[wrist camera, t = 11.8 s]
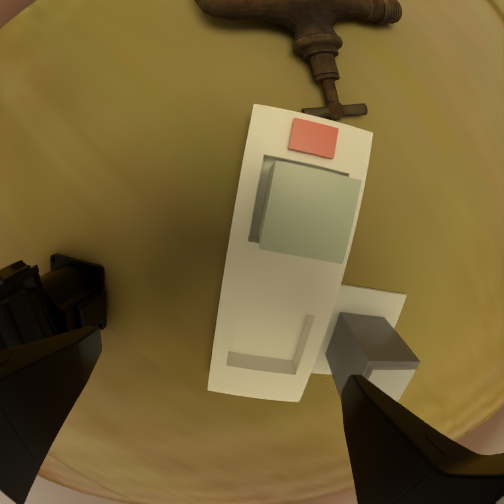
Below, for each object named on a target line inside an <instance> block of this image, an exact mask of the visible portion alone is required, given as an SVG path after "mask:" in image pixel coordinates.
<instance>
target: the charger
mask: <svg viewBox="0 0 504 504" xmlns="http://www.w3.org/2000/svg"><path fill="white" fill-rule="evenodd" d="M325 356H326V358H327V361H328V364H329V367H330V370H331V373H332V375H333V378H334V381H335V384H336V387H337V390H338V393H339V396H340V399H341V392H342V389H343V387H344V385H345V383H346V381H347V379H348V377H349V376H350V375H351V374H360V375H362V376H364V377H365V378H366V379H367V380H369V381H370V382H371V383H373V384H374V385H375V386H377V387H378V388H379V389H381V390H382V391H383V392H385V393H386V394H387V395H389V396H390V397H391V398H393V399H394V400H395V401H398V400H399V398H400V397H401V395H402V393H403V392H404V390H405V388H406V387H407V385H408V383H409V381H410V380H411V378H412V376H413V374H414V372H415V371H416V369H417V367H418V365H419V363H420V361H419V359H418V358H417V357H416V356H415V354H414V353H413V352H412V350H411V349H410V348H409V347H408V345H407V344H406V343H405V342H404V341H403V339H402V338H401V337H400V336H399V334H398V333H397V332H396V331H395V330H394V328H393V327H392V326H391V325H390V324H389V322H388V321H387V320H386V319H385V318H384V317H380V316H371V315H362V314H354V313H346V312H340V314H339V317H338V320H337V323H336V326H335V329H334V332H333V334H332V337H331V340H330V343H329V345H328V348H327V351H326V353H325Z"/></svg>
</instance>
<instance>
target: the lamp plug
mask: <svg viewBox="0 0 504 504" xmlns="http://www.w3.org/2000/svg"><path fill="white" fill-rule="evenodd" d="M360 187H361V180H358V179H354V178H350V177H347V176H343V175H339V174H335V173H331V172H327V171H323V170H319V169H314V168H310V167H306V166H301V165H296V164H292V163H287V162H282V161H277V160H276V161H275V162H274V163H273V165H272V166H271V167H270V172H269V177H268V182H267V188H266V193H265V198H264V204H263V209H262V215H261V220H260V225H259V249H261V250H267V251H273V252H278V253H284V254H289V255H295V256H300V257H306V258H311V259H317V260H322V261H328V262H333V263H338V264H343V261H344V257H345V254H346V250H347V246H348V242H349V237H350V233H351V229H352V225H353V220H354V216H355V211H356V207H357V202H358V197H359V192H360Z"/></svg>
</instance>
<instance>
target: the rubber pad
mask: <svg viewBox="0 0 504 504" xmlns="http://www.w3.org/2000/svg"><path fill="white" fill-rule="evenodd" d="M406 296H407V295H406V294H404V293H398V292H391V291H385V290H378V289H372V288H365V287H359V286H353V285H347V284H341V285H340V289H339V292H338V295H337V299H336V302H335V305H334V308H333V312H332V315H331V318H330V321H329V324H328V327H327V330H326V333H325V336H324V339H323V341H322V344H321V347H320V350H319V353H318V355H317V358H316V361H315V363H314V366H313V369H312V371H311V373H317V374H332V373H331V370H330V367H329V364H328V361H327V358H326V356H325V353H326V351H327V348H328V345H329V343H330V340H331V337H332V334H333V332H334V329H335V326H336V323H337V320H338V317H339V314H340V312H346V313H354V314H362V315H371V316H380V317H384V318H385V319H386V320H387V321H388V322H389V324H390V325H391V326H392V327H393V328H395V325H396V323H397V320H398V318H399V315H400V312H401V310H402V307H403V304H404V302H405V299H406Z"/></svg>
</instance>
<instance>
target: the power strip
mask: <svg viewBox="0 0 504 504" xmlns="http://www.w3.org/2000/svg"><path fill="white" fill-rule="evenodd" d="M372 137H373V133H371V132H368V131H365V130H362V129H359V128H356V127H353V126H349V125H346V124H343V123H339V122H335V121H332V120H328V119H324V118H320V117H316V116H312V115H308V114H304V113H299V112H295V111H290V110H285V109H280V108H275V107H270V106H264V105H258V104H254V106H253V111H252V116H251V121H250V126H249V131H248V136H247V142H246V147H245V152H244V158H243V163H242V169H241V174H240V180H239V185H238V191H237V197H236V202H235V208H234V214H233V220H232V226H231V232H230V238H229V244H228V250H227V256H226V262H225V269H224V275H223V282H222V288H221V295H220V302H219V308H218V315H217V322H216V329H215V336H214V343H213V351H212V358H211V366H210V373H209V381H208V389H207V390H209V391H214V392H220V393H226V394H232V395H238V396H245V397H252V398H260V399H269V400H279V401H290V402H299V401H300V399H301V396H302V394H303V391H304V389H305V386H306V384H307V381H308V379H309V376H310V374H311V371H312V369H313V366H314V363H315V361H316V358H317V355H318V353H319V350H320V347H321V344H322V341H323V339H324V336H325V333H326V330H327V327H328V324H329V321H330V318H331V315H332V312H333V308H334V305H335V302H336V299H337V295H338V292H339V289H340V285H341V282H342V278H343V275H344V271H345V268H346V264H347V260H348V256H349V252H350V249H351V245H352V240H353V236H354V232H355V228H356V224H357V219H358V215H359V210H360V205H361V201H362V196H363V191H364V185H365V180H366V175H367V169H368V163H369V157H370V150H371V144H372ZM276 160H277V161H282V162H287V163H292V164H296V165H301V166H306V167H310V168H314V169H319V170H323V171H327V172H331V173H335V174H339V175H343V176H347V177H350V178H354V179H358V180H361V187H360V192H359V197H358V202H357V207H356V211H355V216H354V220H353V225H352V229H351V233H350V237H349V242H348V246H347V250H346V254H345V257H344V261H343V264H338V263H333V262H328V261H322V260H317V259H311V258H306V257H300V256H295V255H289V254H284V253H278V252H273V251H267V250H261V249H259V225H260V220H261V215H262V209H263V204H264V198H265V193H266V188H267V182H268V177H269V172H270V167H271V166H272V165H273V163H274V162H275V161H276Z"/></svg>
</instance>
